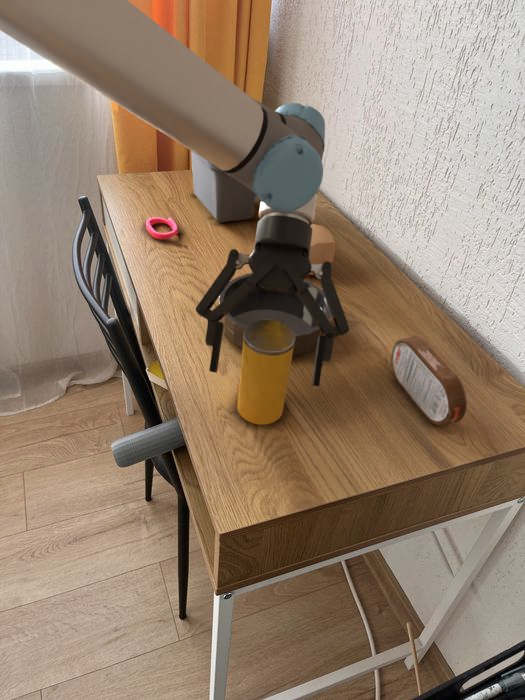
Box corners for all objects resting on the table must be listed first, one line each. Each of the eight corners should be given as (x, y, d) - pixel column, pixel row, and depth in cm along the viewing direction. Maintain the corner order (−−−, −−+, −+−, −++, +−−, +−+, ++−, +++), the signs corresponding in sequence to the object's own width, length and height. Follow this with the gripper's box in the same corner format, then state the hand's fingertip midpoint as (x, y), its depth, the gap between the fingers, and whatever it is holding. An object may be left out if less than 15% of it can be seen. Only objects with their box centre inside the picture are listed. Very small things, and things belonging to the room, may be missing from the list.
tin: (456, 434, 73) (478, 391, 68) (438, 439, 72) (458, 396, 67) (399, 365, 84) (414, 323, 78) (382, 368, 83) (396, 326, 77)
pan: (208, 350, 82) (209, 327, 79) (227, 286, 96) (228, 265, 94) (326, 367, 82) (331, 344, 79) (327, 300, 96) (332, 279, 93)
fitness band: (182, 237, 109) (182, 230, 108) (155, 241, 107) (155, 235, 106) (168, 220, 114) (168, 214, 113) (142, 224, 112) (142, 217, 111)
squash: (298, 290, 98) (294, 247, 93) (251, 251, 113) (246, 212, 107) (347, 272, 101) (346, 228, 96) (295, 236, 116) (291, 197, 111)
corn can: (233, 421, 71) (240, 347, 63) (240, 388, 76) (247, 316, 68) (281, 428, 71) (293, 355, 63) (284, 394, 76) (296, 323, 68)
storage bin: (179, 190, 127) (179, 129, 118) (238, 184, 133) (242, 126, 124) (210, 230, 112) (213, 164, 103) (275, 222, 118) (283, 159, 109)
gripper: (371, 243, 75) (353, 392, 73) (198, 220, 75) (175, 367, 73) (383, 226, 67) (363, 391, 65) (190, 200, 68) (165, 363, 66)
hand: (264, 379), depth 69 cm, fingers open, 13 cm apart
